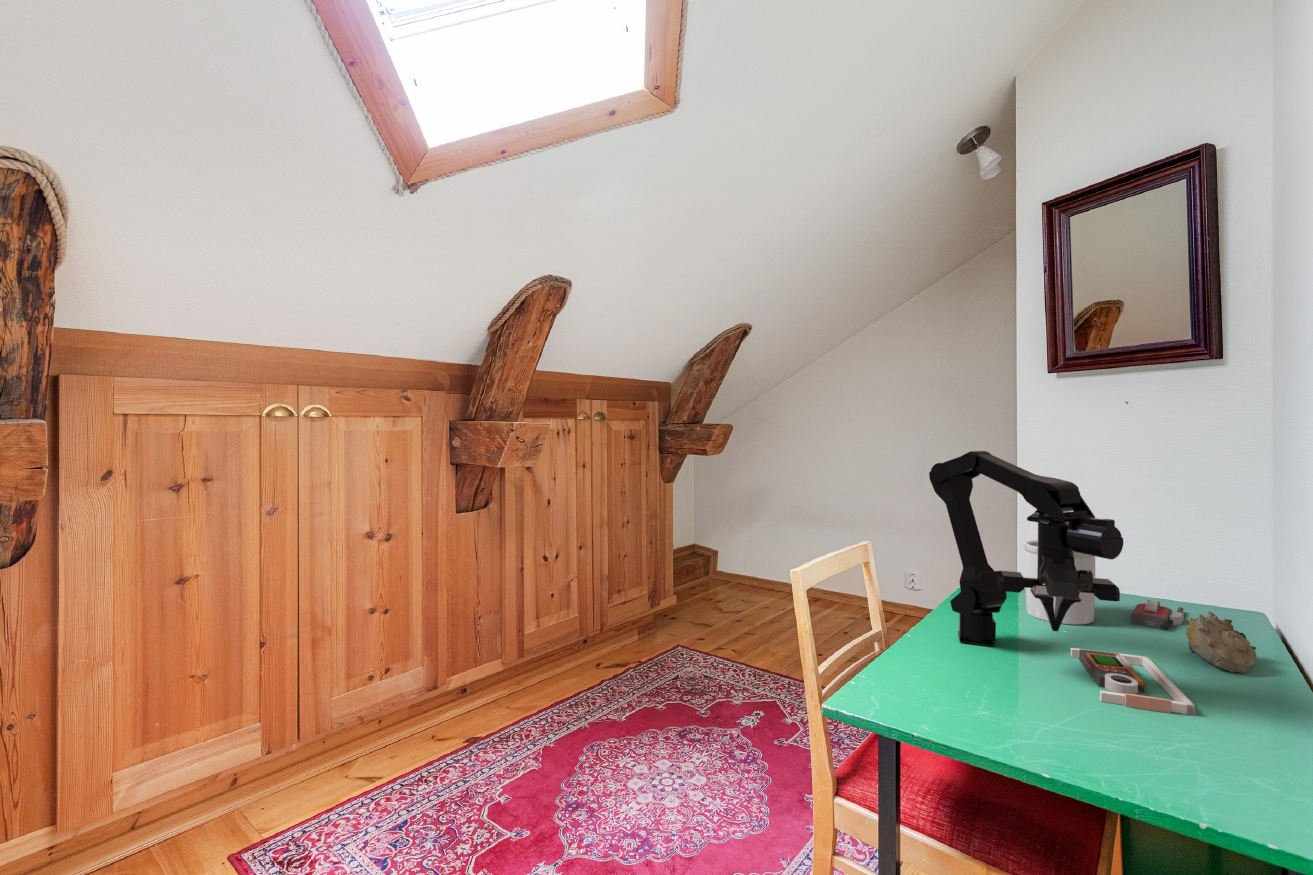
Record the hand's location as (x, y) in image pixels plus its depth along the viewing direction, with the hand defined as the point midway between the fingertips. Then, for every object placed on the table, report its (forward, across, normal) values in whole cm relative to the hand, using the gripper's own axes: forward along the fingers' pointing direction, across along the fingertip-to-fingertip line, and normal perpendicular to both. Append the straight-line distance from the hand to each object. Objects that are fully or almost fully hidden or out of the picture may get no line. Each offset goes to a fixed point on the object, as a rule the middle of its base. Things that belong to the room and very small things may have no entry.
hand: (1054, 630), depth 114 cm
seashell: (+8, +31, +18) cm, 37 cm away
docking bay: (+8, +11, 0) cm, 14 cm away
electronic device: (+9, +9, +1) cm, 13 cm away
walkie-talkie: (+9, +29, +46) cm, 55 cm away
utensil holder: (+8, +8, +39) cm, 41 cm away
